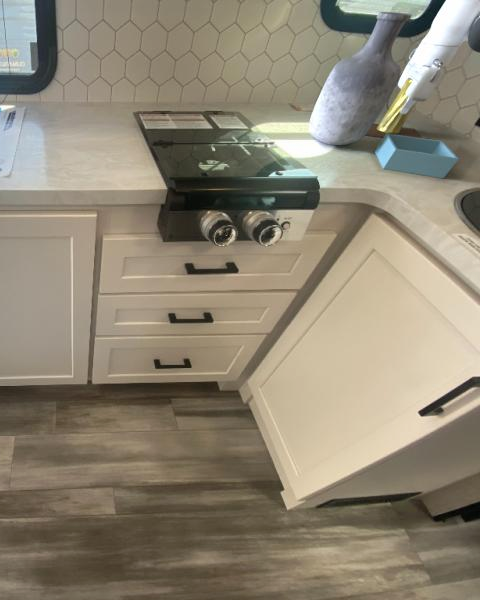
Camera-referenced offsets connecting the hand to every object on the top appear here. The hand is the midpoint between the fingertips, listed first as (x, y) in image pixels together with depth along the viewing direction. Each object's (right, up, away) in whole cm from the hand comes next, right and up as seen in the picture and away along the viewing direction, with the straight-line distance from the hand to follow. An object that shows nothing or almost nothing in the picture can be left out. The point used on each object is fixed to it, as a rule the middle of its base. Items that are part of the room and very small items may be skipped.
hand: (399, 110), depth 107 cm
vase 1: (-24, -12, -3) cm, 27 cm away
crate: (-11, -22, -14) cm, 29 cm away
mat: (0, -5, +4) cm, 6 cm away
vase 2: (0, -4, +4) cm, 6 cm away
